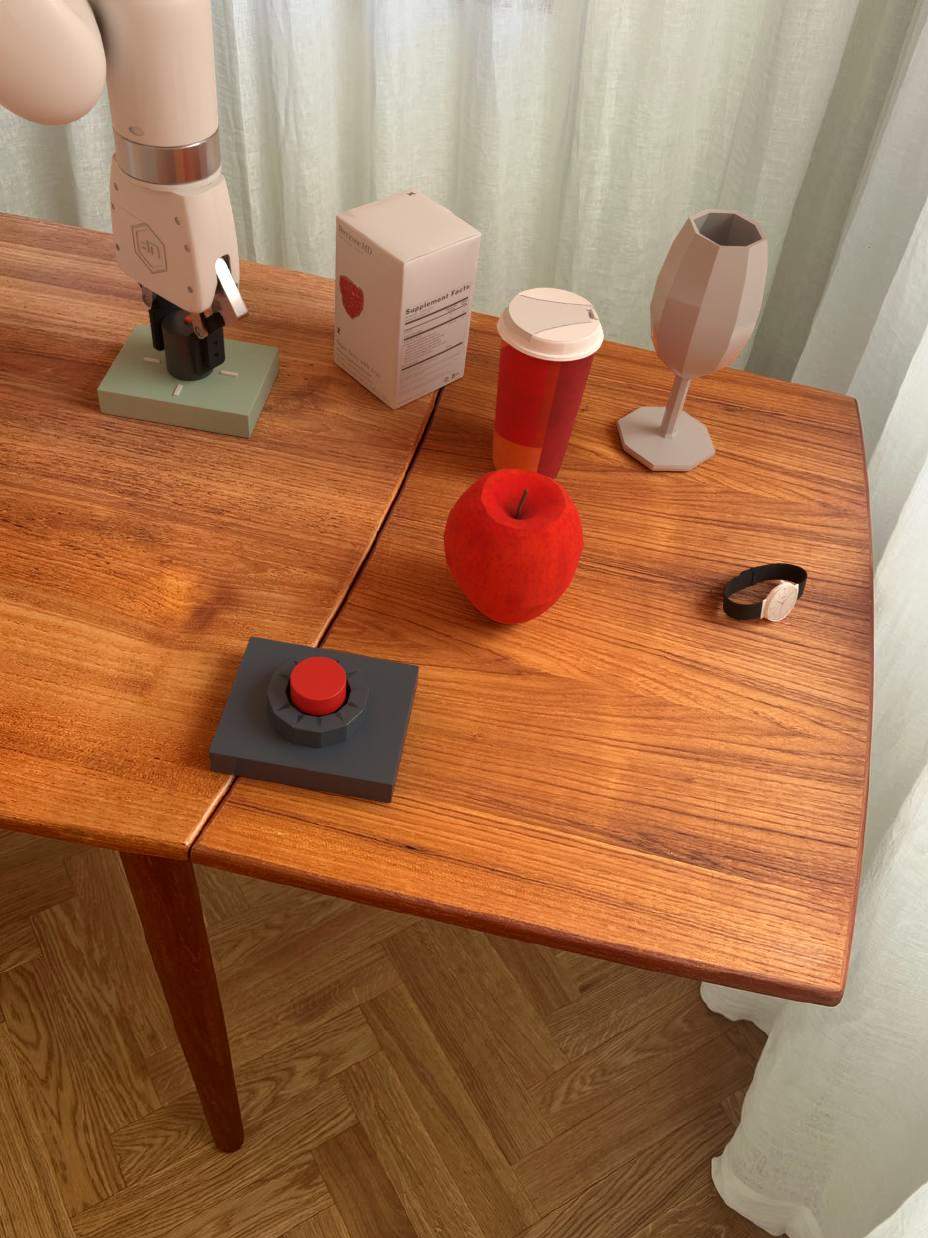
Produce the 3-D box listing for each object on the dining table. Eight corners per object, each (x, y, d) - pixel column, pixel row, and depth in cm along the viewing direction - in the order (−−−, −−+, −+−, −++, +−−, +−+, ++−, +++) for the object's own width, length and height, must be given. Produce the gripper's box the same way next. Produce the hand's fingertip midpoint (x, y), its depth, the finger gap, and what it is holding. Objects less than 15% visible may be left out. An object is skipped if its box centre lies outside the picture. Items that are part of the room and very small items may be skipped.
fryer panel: (100, 413, 95) (96, 387, 93) (140, 346, 102) (136, 321, 100) (249, 438, 95) (248, 413, 93) (279, 370, 101) (278, 345, 99)
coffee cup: (561, 430, 100) (592, 282, 88) (583, 493, 94) (619, 344, 83) (469, 433, 98) (489, 283, 87) (486, 497, 93) (510, 346, 82)
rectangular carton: (330, 362, 103) (331, 211, 92) (403, 330, 107) (413, 183, 96) (392, 413, 99) (402, 262, 88) (467, 378, 103) (484, 230, 92)
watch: (742, 640, 85) (756, 608, 82) (702, 599, 87) (715, 567, 85) (814, 606, 88) (829, 574, 85) (773, 567, 91) (787, 536, 88)
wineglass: (646, 484, 96) (710, 266, 80) (598, 422, 101) (650, 206, 85) (730, 463, 99) (807, 249, 83) (679, 404, 104) (743, 192, 88)
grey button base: (210, 771, 73) (206, 735, 70) (251, 655, 79) (249, 618, 76) (391, 803, 72) (394, 769, 69) (417, 684, 79) (421, 648, 76)
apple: (410, 603, 84) (421, 482, 75) (493, 540, 89) (513, 420, 80) (511, 677, 80) (535, 559, 71) (591, 606, 86) (624, 488, 77)
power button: (284, 710, 72) (284, 694, 71) (298, 668, 74) (297, 651, 73) (339, 720, 72) (339, 704, 71) (350, 677, 74) (351, 661, 73)
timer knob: (188, 387, 94) (183, 339, 91) (156, 366, 96) (150, 318, 92) (223, 367, 97) (220, 320, 93) (192, 347, 98) (187, 300, 95)
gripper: (51, 122, 83) (89, 332, 96) (210, 209, 77) (226, 419, 90) (130, 93, 87) (156, 298, 100) (287, 174, 81) (291, 380, 95)
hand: (189, 353), depth 95 cm, fingers closed on timer knob, 4 cm apart
